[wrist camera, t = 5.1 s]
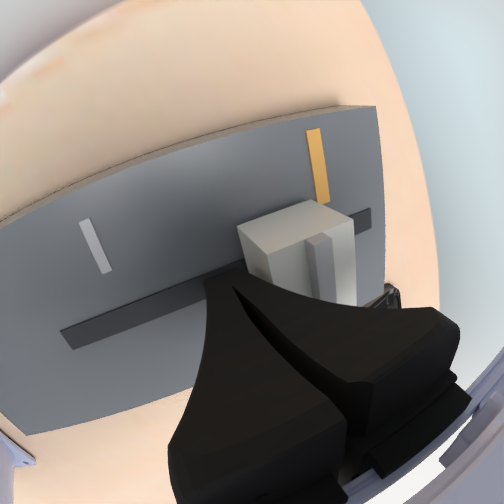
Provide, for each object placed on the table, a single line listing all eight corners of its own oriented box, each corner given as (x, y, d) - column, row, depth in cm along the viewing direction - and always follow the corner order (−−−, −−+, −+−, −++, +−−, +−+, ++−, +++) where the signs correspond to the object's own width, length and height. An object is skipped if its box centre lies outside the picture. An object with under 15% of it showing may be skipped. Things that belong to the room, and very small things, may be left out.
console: (30, 404, 13) (26, 437, 10) (-68, 266, 8) (-92, 292, 6) (356, 274, 18) (384, 294, 16) (340, 105, 13) (377, 106, 11)
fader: (259, 314, 12) (294, 360, 10) (236, 226, 10) (274, 262, 8) (321, 285, 13) (364, 322, 10) (310, 199, 11) (363, 224, 9)
